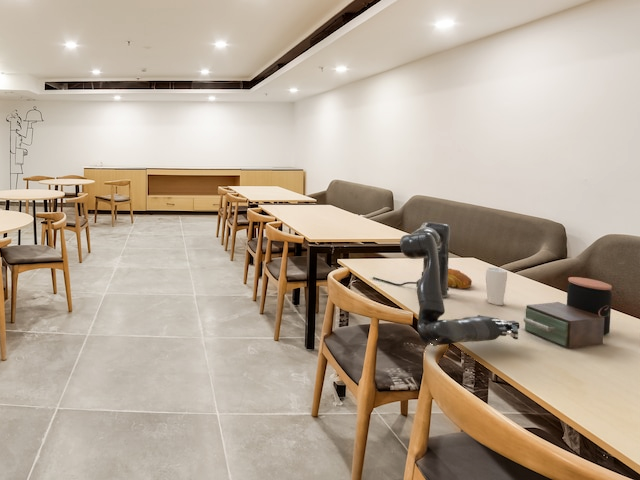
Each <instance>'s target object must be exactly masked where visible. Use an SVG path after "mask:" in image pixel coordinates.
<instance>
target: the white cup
mask: <svg viewBox="0 0 640 480" xmlns="http://www.w3.org/2000/svg"><path fill="white" fill-rule="evenodd" d="M507 281H508V271H507V270H506V269H503V268H499V267H493V266H487V267H486V268H485V285H486V286H485V287H486V301H487V303H489V304H491V305H495V306H503V305H504V302H505V301H504V300H505V293H506V288H507Z"/></svg>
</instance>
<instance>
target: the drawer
mask: <svg viewBox="0 0 640 480" xmlns="http://www.w3.org/2000/svg"><path fill="white" fill-rule="evenodd" d="M524 316H525V317H524V318H523V322H524V330H525V329H526V330H528V331H531V332H533V333H535V334H538V335H540V336H543V337H545V338H547V339H550V340H552V341H555V342H557V343H559V344H562V345H564V346H566V345H567V337H568V322H565V321H563V320H560V319H557V318H554V317H552V316H549V315H546V314H544V313H541V312H538V311H535V310H531V309H529V308H525V315H524ZM526 330H525V331H526ZM528 331H527V332H528ZM533 333H532V334H533ZM535 334H534V335H535ZM538 335H537V336H538ZM540 336H539V337H540ZM545 338H544V339H545ZM547 339H546V340H547ZM552 341H551V342H552ZM557 343H556V344H557ZM559 344H558V345H559ZM564 346H563V347H564Z"/></svg>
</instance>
